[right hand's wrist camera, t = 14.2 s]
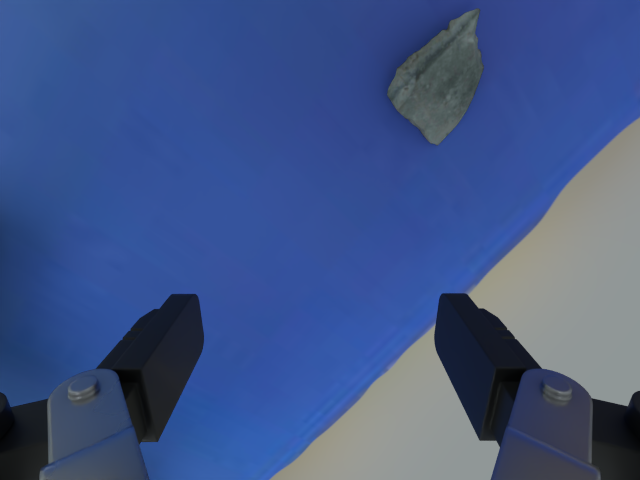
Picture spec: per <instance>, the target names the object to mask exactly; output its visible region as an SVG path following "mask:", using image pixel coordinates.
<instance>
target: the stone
mask: <svg viewBox="0 0 640 480" xmlns="http://www.w3.org/2000/svg"><path fill="white" fill-rule="evenodd" d="M479 13H480V9H478V8H477V9H475V10H473V11H469V12H466V13H464V14H463V15H462V16H461V17H459V18H457V19H454V20H451V21H450V23H449V25H448V28H447V30H442V31H441V32H440V33H439V34H438V35H437V36H435V37H434V38H433V39H431V40H430V42H429V43H427V44H426V45H425V46H424V47H422V48H421V49H420V50H419V51H417V52H415V53H413V54H412V55H411V56H409V57H408V58H407V60H406V61H405V62H404V63H403V64H402V65H401V66H399V67H398V68H397V71H396V75H395V77H394V79H393V80H392V82H391V84H390V86H389V89H388V93H387V96H388V97H389V99H390V100H391V102H392V104H393V105H394V107H395V108H396V109H397V111H398V112H399V113H400V114H401V115H403V116H404V117H405V118H406V119H409V121H410V122H411V123H412V124H413V125H414V126H416V127H417V128H418V129H419V130H420V131H421V133H422V134H423V135H424V137H425V138H426V139H427V140H428V141H429V142H430V143H431V144H432V143H433V144H436V145H439V144H440V143H441V142H442V141H443V139H444V138H445V137H446V136H447V135H448V134H449V133H450V132H451V131H452V130H453V129H454V128H455V126H456V125H457V124H458V123H459V121H460V120H461V118H462V117H463V115H464V114H465V112H466V111H467V109H468V107H469V105H470V103H471V101H472V99H473V96H474V94H475V91H476V89H477V86H478V83H479V80H480V77H481V74H482V72H483V69H484V66H483V64H482V61H481V56H482V55H481V52H480V50H479V49H477V42H478V38H477V37H476V35H475V30H476V26H477V20H478V17H479Z"/></svg>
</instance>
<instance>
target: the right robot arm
mask: <svg viewBox="0 0 640 480" xmlns="http://www.w3.org/2000/svg"><path fill="white" fill-rule="evenodd" d="M434 340H435V347H436V351H437V354H438V356H439V358H440V360H441V362H442V364H443V366H444V368H445V370H446V372H447V374H448V376H449V378H450V380H451V383H452V385H453V387H454V389H455V391H456V393H457V395H458V397H459V399H460V401H461V403H462V405H463V407H464V409H465V411H466V413H467V415H468V417H469V420H470V422H471V424H472V426H473V428H474V430H475V432H476V434H477V436H478V438H479V440H480V441H497V443H498V444H499V446H500V450H499V453H498V457H497V460H496V464H495V467H494V470H493V474H492V477H491V480H640V391H637V392H635V393H634V394H633V395H632V398H631V400H630V403H629V405H628V406H624V405H619V404H615V403H610V402H606V401H601V400H597V399H592V398H591V396H590V395H589V393H588V392H587V391H586V390H585V389H584V388H583V387H582V386H581V385H580V384H578V383H577V382H576V381H574V380H572V379H571V378H569V377H567V376H565V375H563V374H560V373H558V372H554V371H551V370H547V369H542V368H541V367H540V366H539V365H538V363H537V362H536V361H535V360H534V359H533V358H532V357H531V355H530V354H529V353H528V352H527V351H526V350H525V348H524V347H523V346H522V345H521V344H520V343H519V341H518V340H517V339H515V337H514V336H513V334H512V333H511V332H510V331H509V330H507V328H506V326H505V325H504V324H503V323H502V322H501V321H500V319H499V318H498V317H496V316H495V315H493V314H491V313H490V312H488V311H487V310H485V309H479V308H478V307H477V306H476V305H475V303H474V302H473V301H472V300H471V299H470V297H469V296H468V295H467V294H465V293H443V294H441V296H440V299H439V305H438V312H437V319H436V326H435V334H434ZM203 343H204V332H203V325H202V318H201V311H200V304H199V299H198V296H197V295H196V294H172V295H170V297H169V298H168V299H167V300H166V301H165V303H164V304H163V305H162V306H161V308H160V309H154V310H152V311H151V312H149V313H147V314H146V315H144V316H143V317H141V318H140V319H139V320H138V321H137V322H136V323H135V324H134V326H133V327H132V328H131V331H128V332H127V334H126V335H125V336H124V337H123V340H121V341H120V342H119V343H118V344H117V345H116V346H115V347H114V349H113V350H112V351H111V352H110V353H109V354H108V355H107V357H106V358H105V359H104V360H103V361H102V362H101V363H100V365H99V366H98V367H97V368H96V369H93V370H89V371H85V372H82V373H80V374H77V375H75V376H73V377H71V378H69V379H68V380H66V381H64V382H63V383H62V384H60V385H59V386H58V387H57V388H56V389H55V390H54V391H53V392H52V393H51V395H50V396H49V399H45V400H41V401H37V402H32V403H28V404H23V405H19V406H14V407H10V405H9V402H8V400H7V398H6V396H5V395H4V394H3V393H1V392H0V480H149V477H148V474H147V470H146V467H145V464H144V460H143V457H142V453H141V450H140V447H139V444H140V442H158V440H159V438H160V436H161V434H162V432H163V430H164V428H165V426H166V424H167V422H168V420H169V418H170V416H171V414H172V412H173V410H174V408H175V406H176V404H177V402H178V400H179V398H180V395H181V393H182V391H183V389H184V387H185V385H186V383H187V381H188V379H189V377H190V375H191V373H192V371H193V369H194V367H195V365H196V363H197V361H198V359H199V357H200V355H201V352H202V349H203Z"/></svg>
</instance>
